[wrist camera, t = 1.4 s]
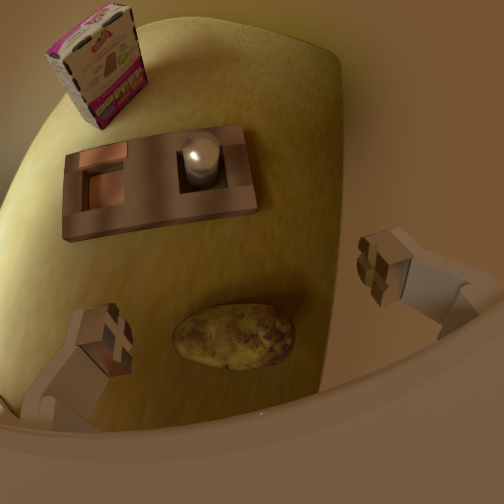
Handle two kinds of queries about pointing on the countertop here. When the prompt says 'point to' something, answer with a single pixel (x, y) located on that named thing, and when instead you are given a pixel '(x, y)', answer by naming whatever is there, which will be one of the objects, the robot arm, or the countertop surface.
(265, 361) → the potato
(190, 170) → the metal peg
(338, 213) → the countertop surface
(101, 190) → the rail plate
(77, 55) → the candy bar box
